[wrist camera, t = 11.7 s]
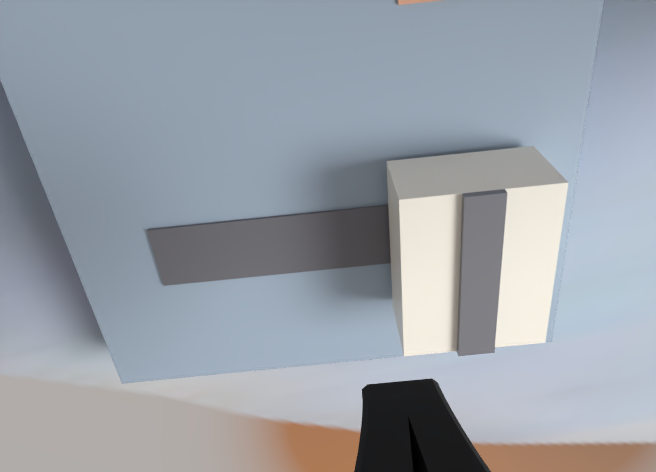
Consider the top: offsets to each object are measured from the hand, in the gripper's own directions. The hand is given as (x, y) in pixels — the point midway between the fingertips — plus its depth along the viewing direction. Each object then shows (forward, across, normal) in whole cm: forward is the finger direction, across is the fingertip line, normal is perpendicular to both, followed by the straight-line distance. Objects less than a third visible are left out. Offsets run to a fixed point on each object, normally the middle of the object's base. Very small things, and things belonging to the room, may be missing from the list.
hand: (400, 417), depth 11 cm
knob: (+7, -3, 0) cm, 7 cm away
